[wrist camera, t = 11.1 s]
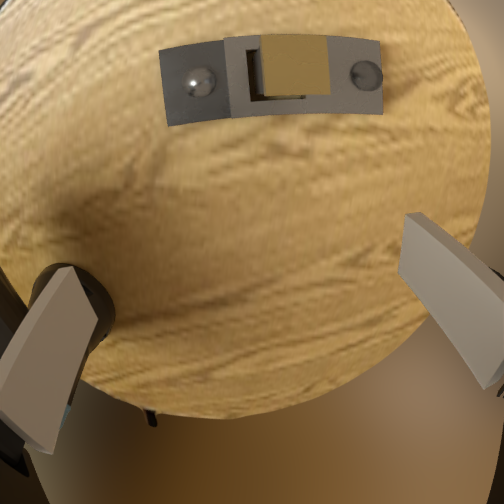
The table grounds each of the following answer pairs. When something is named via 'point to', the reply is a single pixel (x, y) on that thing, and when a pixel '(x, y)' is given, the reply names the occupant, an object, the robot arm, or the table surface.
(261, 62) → the link pin
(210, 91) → the plate
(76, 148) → the table surface
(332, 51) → the plate
